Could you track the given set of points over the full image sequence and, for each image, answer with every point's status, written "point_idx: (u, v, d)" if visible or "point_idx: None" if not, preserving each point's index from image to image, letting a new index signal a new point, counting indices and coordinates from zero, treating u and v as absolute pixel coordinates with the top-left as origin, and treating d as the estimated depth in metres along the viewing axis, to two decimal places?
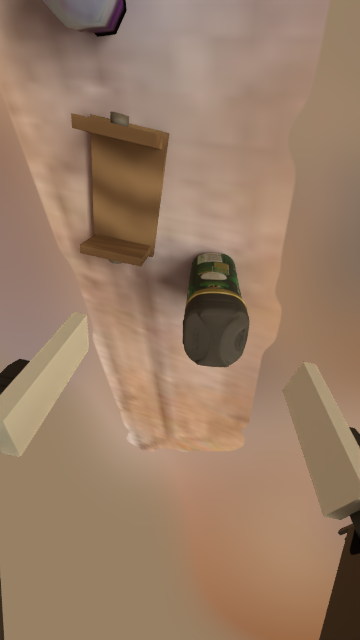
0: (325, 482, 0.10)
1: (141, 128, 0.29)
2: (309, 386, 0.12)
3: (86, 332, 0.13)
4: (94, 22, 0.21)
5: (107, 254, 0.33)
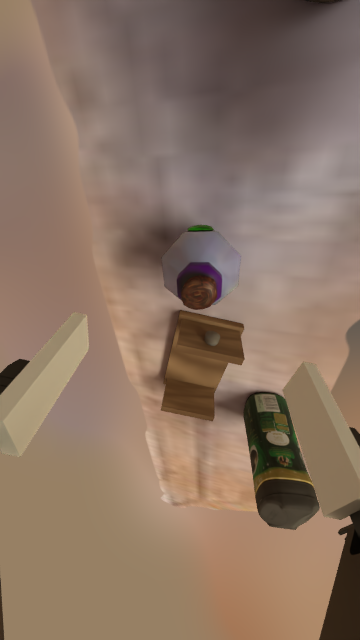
0: (325, 482, 0.10)
1: (221, 324, 0.34)
2: (309, 386, 0.12)
3: (86, 332, 0.13)
4: None
5: (184, 412, 0.38)
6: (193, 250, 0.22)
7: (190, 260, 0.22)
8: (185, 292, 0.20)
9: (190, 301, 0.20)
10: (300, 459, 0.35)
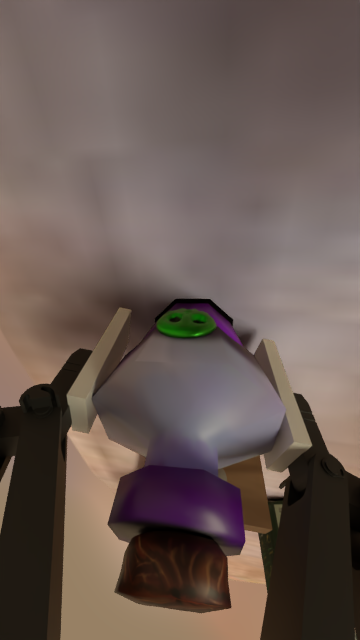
0: None
1: None
2: (265, 359, 0.13)
3: (129, 326, 0.15)
4: None
5: None
6: (164, 400, 0.08)
7: (157, 420, 0.09)
8: (127, 598, 0.06)
9: (146, 604, 0.06)
10: None
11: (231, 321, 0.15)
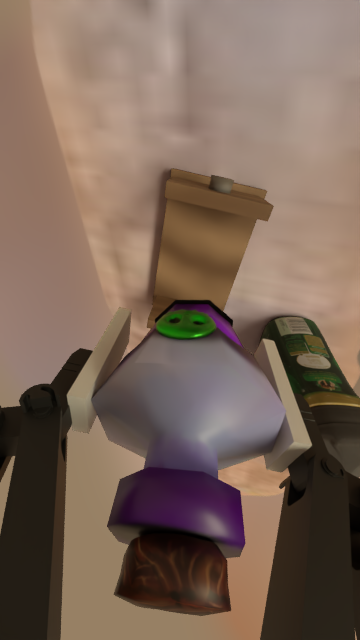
0: None
1: (234, 185, 0.23)
2: (264, 359, 0.13)
3: (129, 326, 0.15)
4: None
5: None
6: (164, 402, 0.08)
7: (156, 421, 0.09)
8: (126, 600, 0.06)
9: (146, 607, 0.06)
10: (349, 386, 0.24)
11: (231, 322, 0.15)
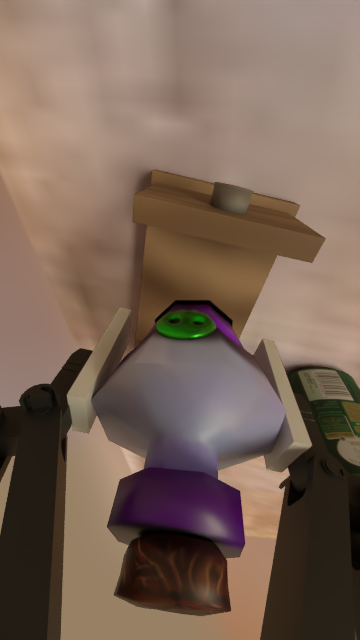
0: None
1: None
2: (264, 359, 0.13)
3: (129, 326, 0.15)
4: None
5: None
6: (164, 402, 0.08)
7: (156, 422, 0.09)
8: None
9: None
10: None
11: (231, 322, 0.15)
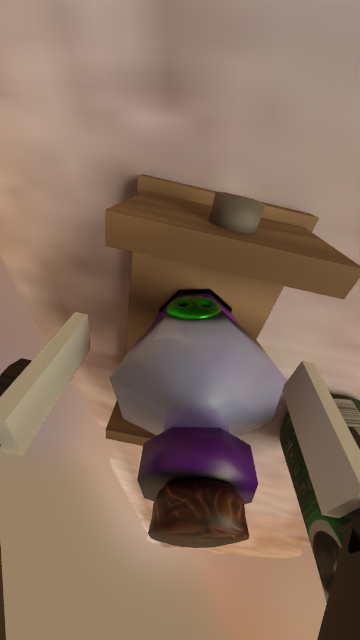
0: (323, 481, 0.10)
1: None
2: (307, 385, 0.12)
3: (87, 332, 0.14)
4: None
5: None
6: (180, 374, 0.09)
7: (173, 393, 0.10)
8: (160, 536, 0.07)
9: (175, 544, 0.07)
10: None
11: (230, 309, 0.16)
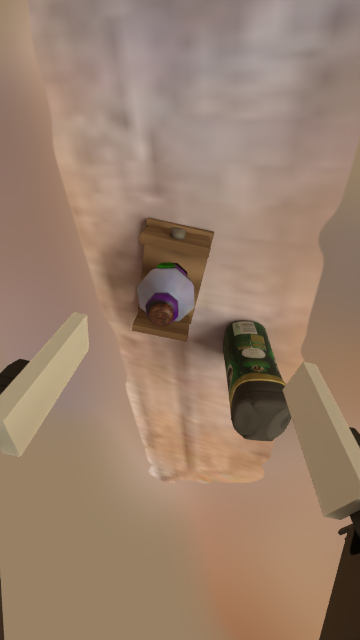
0: (325, 482, 0.10)
1: (190, 230, 0.33)
2: (309, 386, 0.12)
3: (86, 332, 0.13)
4: (175, 320, 0.34)
5: (156, 332, 0.37)
6: (159, 282, 0.30)
7: (156, 289, 0.31)
8: (150, 314, 0.28)
9: (154, 320, 0.28)
10: (276, 370, 0.33)
11: (186, 272, 0.37)
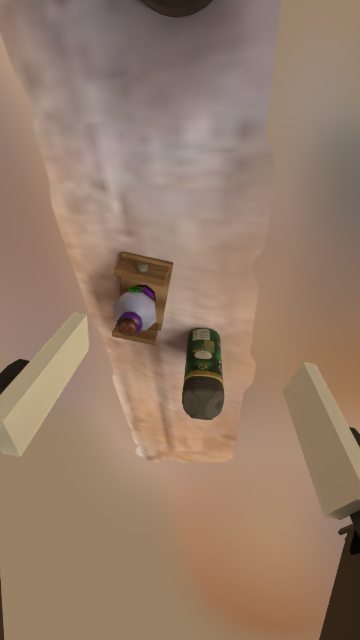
0: (325, 482, 0.10)
1: (155, 262, 0.44)
2: (309, 386, 0.12)
3: (86, 332, 0.13)
4: None
5: (130, 337, 0.48)
6: (128, 303, 0.41)
7: (127, 308, 0.42)
8: (120, 328, 0.39)
9: (123, 332, 0.39)
10: (217, 368, 0.45)
11: (154, 292, 0.48)
